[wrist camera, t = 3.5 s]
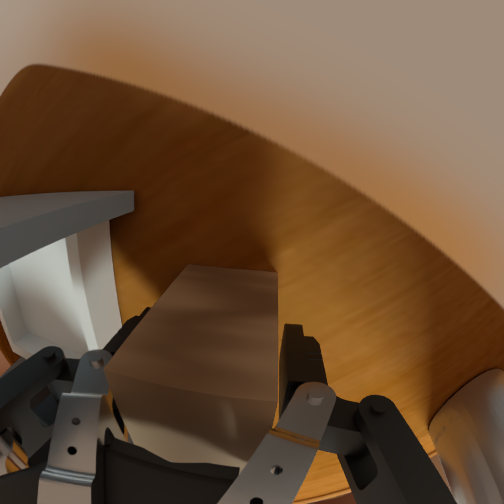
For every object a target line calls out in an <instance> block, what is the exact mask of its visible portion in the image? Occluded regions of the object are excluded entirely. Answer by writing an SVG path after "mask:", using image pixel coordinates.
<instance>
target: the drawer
mask: <svg viewBox="0 0 504 504" xmlns="http://www.w3.org/2000/svg"><path fill="white" fill-rule="evenodd" d="M132 211H134V191H81V192H58V193H42V194H28V195H16V196H5V197H0V320H1V323H2V325H3V328H4V331H5V333H6V336H7V339H8V341H9V344H10V346H11V348H12V351H13V352H14V353H16V354H18V355H20V356H21V357H23V358H25V359H28V358H30V357H31V356H32V355H34V354H35V353H37V352H38V351H40V350H41V349H43V348H45V347H48V346H56V347H59V348H61V349H62V350H63V352H64V355H65V357H66V358H72V359H80V358H81V357H82V356H83V355H84V354H85V353H86V352H88V351H91V350H95V349H101V350H102V349H103V348H104V347H105V346H106V344H107V343H108V342H109V341H110V340H111V338H112V337H113V336H114V335H115V334H116V333H117V332H118V330H119V329H120V328H122V323H121V317H120V312H119V306H118V300H117V293H116V287H115V279H114V271H113V263H112V253H111V241H110V227H109V220H110V219H113V218H115V217H118V216H121V215H124V214H126V213H129V212H132Z"/></svg>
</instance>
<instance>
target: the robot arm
mask: <svg viewBox="0 0 504 504" xmlns="http://www.w3.org/2000/svg"><path fill="white" fill-rule="evenodd" d="M150 309H151V307H147V308H146V309H145V310H144V311H143V312H142V313H141V315H140V316H134V317H133V318H131V319H129V320H127V321H126V322H125V324H124V325H123V326H122V328H120V329H119V330H118V332H117V333H116V334H115V335H114V336H113V337H112V338H111V340H110V341H109V342H108V343H107V344H106V346H105V347H104V348H103V349H102V350H101V349H95V350H91V351H88V352H86V353H85V354H84V355H83V356H82V357H81V358H80V359H72V358H66V357H65V355H64V352H63V350H62V349H61V348H59V347H56V346H48V347H45V348H43V349H41V350H40V351H38V352H37V353H35V354H34V355H32V356H31V357H30V358H28V359H27V360H25V361H24V362H22V363H21V364H20V365H18V366H17V367H15V368H14V369H13V370H11V371H10V372H8V373H7V374H6V375H4V376H3V377H2V378H0V504H292V502H293V500H294V499H295V497H296V495H297V493H298V491H299V489H300V487H301V485H302V483H303V481H304V479H305V477H306V475H307V472H308V470H309V468H310V466H311V464H312V462H313V459H314V457H315V455H316V452H317V450H322V451H326V452H330V453H335V454H337V456H338V459H339V461H340V464H341V466H342V469H343V471H344V474H345V476H346V479H347V481H348V483H349V486H350V488H351V491H352V493H353V496H354V498H355V501H356V503H357V504H504V371H503V370H501V369H492V370H489V371H487V372H485V373H483V374H481V375H479V376H478V377H476V378H474V379H473V380H472V381H470V382H469V383H468V384H466V385H465V386H464V387H463V388H461V389H460V390H459V391H458V392H457V393H456V394H455V395H454V396H452V397H451V398H450V399H449V400H448V401H447V402H446V403H445V404H444V406H443V407H442V408H441V409H440V410H439V411H438V413H437V414H436V415H435V417H434V418H433V420H432V422H431V424H430V426H429V434H430V436H431V439H432V441H433V444H434V446H435V449H436V451H437V454H438V456H439V459H440V461H441V464H442V467H443V470H444V472H445V475H446V478H447V481H448V484H449V486H450V490H451V492H450V491H449V489H448V487H447V486H446V484H445V482H444V481H443V479H442V477H441V476H440V474H439V472H438V471H437V469H436V468H435V466H434V464H433V463H432V462H431V460H430V458H429V456H428V455H427V453H426V452H425V450H424V449H423V447H422V445H421V444H420V442H419V441H418V439H417V438H416V436H415V435H414V433H413V432H412V430H411V428H410V427H409V425H408V424H407V422H406V421H405V419H404V418H403V416H402V415H401V413H400V412H399V410H398V409H397V407H396V406H395V404H394V403H393V402H392V401H391V400H390V399H388V398H386V397H384V396H380V395H370V396H367V397H365V398H363V399H362V400H361V402H360V403H357V402H352V401H347V400H344V399H341V398H339V397H337V396H336V394H335V392H334V390H333V389H332V388H331V387H329V386H328V383H327V378H326V373H325V368H324V363H323V361H322V354H321V349H320V344H319V343H318V342H317V341H316V340H315V338H314V337H309V336H304V334H303V327H302V325H298V324H285V325H284V331H283V338H282V345H281V351H280V360H279V422H278V423H277V425H276V426H275V428H274V429H272V428H271V429H270V430H269V431H268V433H267V434H266V436H265V437H264V439H263V440H262V442H261V443H260V445H259V447H258V448H257V450H256V451H255V453H254V454H253V456H252V457H251V458H250V460H249V461H248V463H247V464H246V466H245V467H244V469H243V470H242V471H241V473H240V474H239V472H240V467H233V466H225V465H218V464H212V463H176V462H170V461H167V460H165V459H163V458H161V457H159V456H158V455H156V454H154V453H152V452H150V451H148V450H146V449H145V448H143V447H140V446H137V445H134V444H131V443H128V430H127V428H126V426H125V424H124V421H123V419H122V417H121V414H120V412H119V410H118V407H117V405H116V402H115V400H114V397H113V395H112V392H111V390H110V387H109V384H108V381H107V379H106V376H105V373H104V370H103V369H104V367H105V366H106V365H107V363H108V362H109V361H110V359H111V358H112V357H113V355H114V354H115V353H116V352H117V350H118V349H119V348H120V346H121V345H122V344H123V343H124V341H125V340H126V339H127V338H128V336H129V335H130V334H131V333H132V331H133V330H134V329H135V328H136V326H137V325H138V324H139V323H140V321H141V320H142V319H143V318H144V316H145V315H146V314H147V313H148V311H149V310H150ZM46 386H48V388H49V390H50V392H51V394H50V395H49V396H48V397H47V398H45V399H44V400H43V401H42V402H41V403H40V404H38V405H37V406H36V407H35V408H34V409H32V410H31V408H30V400H31V399H32V398H33V397H34V396H35V395H36V394H37V393H39V392H40V391H41V390H42V389H44V388H45V387H46ZM51 437H52V438H51ZM50 438H51V443H50V449H49V456H48V461H47V462H44V463H41V464H38V465H35V466H31V467H30V466H29V465H28V464H27V462H28V459H29V458H30V457H31V456H32V455H33V454H34V453H35V452H36V451H37V450H38V449H39V448H40V447H42V446H43V445H44V444H45V443H46V442H47V441H48V440H49V439H50ZM451 493H452V494H451Z"/></svg>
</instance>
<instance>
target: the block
mask: <svg viewBox="0 0 504 504" xmlns="http://www.w3.org/2000/svg"><path fill="white" fill-rule="evenodd" d="M103 370H104V373H105V376H106V379H107V381H108V384H109V387H110V390H111V392H112V395H113V397H114V400H115V402H116V405H117V407H118V410H119V412H120V414H121V417H122V419H123V421H124V424H125V426H126V428H127V430H128V432H129V434H130V436H131V439H132V441H133V443H134V445H137V446H140V447H143V448H145V449H146V450H148V451H150V452H152V453H154V454H156V455H158V456H159V457H161V458H163V459H165V460H168V461H172V462H176V463H212V464H218V465H225V466H233V467H240V472H239V473H241V471H242V470H243V469H244V467H245V466H246V464H247V463H248V461H249V460H250V458H251V457H252V456H253V454H254V453H255V451H256V450H257V448H258V447H259V445H260V443H261V442H262V440H263V439H264V437H265V436H266V434H267V433H268V431H269V430H270V429H271V428H272V426H273V421H274V416H275V412H276V407H277V402H278V276H277V272H268V271H257V270H246V269H234V268H224V267H213V266H203V265H193V264H188V265H187V266H186V267H185V268H184V270H183V271H182V272H181V273H180V274H179V275H178V277H177V278H176V279H175V280H174V281H173V282H172V284H171V285H170V286H169V287H168V288H167V290H166V291H165V292H164V293H163V294H162V296H161V297H160V298H159V299H158V300H157V302H156V303H155V304H154V305H153V307H152V308H151V309H150V310H149V311H148V313H147V314H146V315H145V316H144V318H143V319H142V320H141V321H140V323H139V324H138V325H137V326H136V328H135V329H134V330H133V331H132V333H131V334H130V335H129V336H128V338H127V339H126V340H125V341H124V343H123V344H122V345H121V346H120V348H119V349H118V350H117V352H116V353H115V354H114V355H113V357H112V358H111V359H110V361H109V362H108V363H107V365H106V366H105V367H104V369H103Z"/></svg>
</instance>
